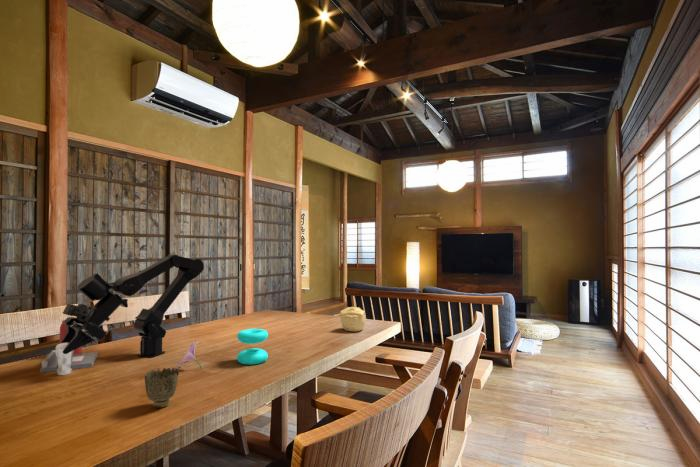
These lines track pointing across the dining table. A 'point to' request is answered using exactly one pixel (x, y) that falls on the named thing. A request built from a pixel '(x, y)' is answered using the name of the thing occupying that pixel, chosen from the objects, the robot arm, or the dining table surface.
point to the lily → (190, 355)
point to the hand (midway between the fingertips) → (60, 351)
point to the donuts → (252, 354)
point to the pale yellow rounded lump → (353, 319)
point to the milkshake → (63, 359)
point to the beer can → (62, 334)
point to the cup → (161, 386)
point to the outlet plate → (78, 361)
